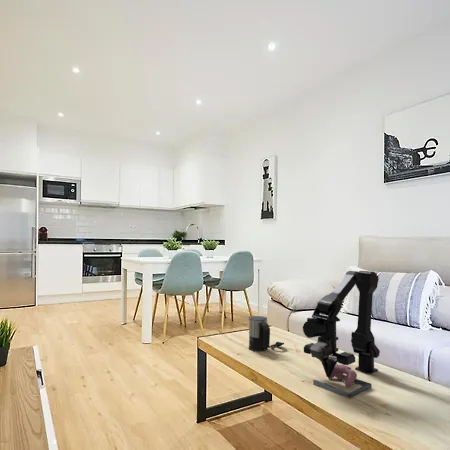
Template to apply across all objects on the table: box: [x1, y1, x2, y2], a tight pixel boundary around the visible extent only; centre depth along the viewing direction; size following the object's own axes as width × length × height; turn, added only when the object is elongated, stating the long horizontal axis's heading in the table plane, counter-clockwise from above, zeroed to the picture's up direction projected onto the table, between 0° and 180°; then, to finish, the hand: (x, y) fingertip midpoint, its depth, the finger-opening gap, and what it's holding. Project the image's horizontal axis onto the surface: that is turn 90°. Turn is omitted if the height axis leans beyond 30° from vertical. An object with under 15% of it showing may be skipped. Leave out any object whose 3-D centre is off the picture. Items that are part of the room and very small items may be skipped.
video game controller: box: [327, 363, 358, 388], centre depth 128 cm, size 10×5×7 cm, turn 29°
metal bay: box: [312, 374, 373, 399], centre depth 124 cm, size 14×15×2 cm
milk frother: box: [248, 315, 285, 352], centre depth 168 cm, size 14×16×15 cm
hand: (328, 377), depth 128 cm, fingers closed
